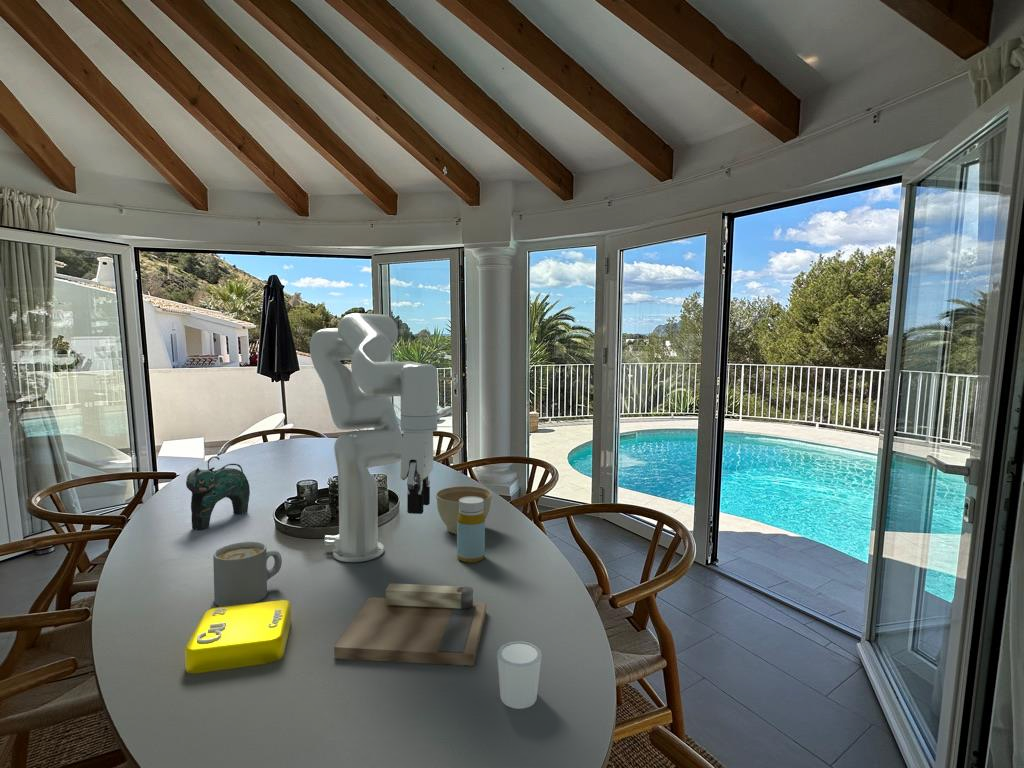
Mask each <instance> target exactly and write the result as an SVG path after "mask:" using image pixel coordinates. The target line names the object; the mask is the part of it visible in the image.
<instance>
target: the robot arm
mask: <svg viewBox="0 0 1024 768" xmlns="http://www.w3.org/2000/svg"><path fill="white" fill-rule="evenodd" d="M397 339H398V326H397V323H396V322H395V320H394V319H393V318H392V317H391V316H389V315H386V314H380V313H379V314H378V313H363V312H361V313H358V312H357V313H355V312H354V313H350V314H346V315H345V316H343V317H342V318H341V319H340V320H339V322H338V324H337V327H331V328H322V329H319V330H317V331H315V332H314V333H313V334H312V336H311V337H310V343H309V352H310V353H309V354H310V358H311V363H312V366H313V367H314V369H315V372H316V373H317V375H318V377H319V378H320V381H321V382H322V384H323V387H324V391H325V395H326V398H327V403H328V407H329V411H330V415H331V419H332V421H333V424H334V425H335V426H336V428H337V429H339V430H345V431H346V430H347V431H348V430H349V431H348V432H345V433H342V434H341V435H339V436H338V437H337V438H336V440H335V442H334V446H333V450H334V456H335V457H334V459H335V463H336V469H337V478H338V479H337V480H338V534H337V535H332V534H330V535H329V534H325V535H324V539H323V542H324V546H333V547H334V548H333V550H332V557H333V558H334V559H336V560H337V561H339V562H343V563H362V562H369V561H371V560H374V559H376V558H379V557H381V556H382V554H384V552H385V545H384V544H383V543H381V542H380V541H378V540H379V538H378V535H379V533H378V525H379V523H378V522H379V520H378V518H379V517H378V515H379V514H378V509H379V508H378V507H379V506H378V505H379V504H378V503H379V502H378V501H379V500H378V499H379V498H378V497H379V496H378V495H379V494H378V483H377V480H376V478H375V477H374V476H373V474H371V472H370V471H369V469H371V468H374V467H380V466H381V467H382V466H387V465H392V464H396V463H398V462H400V479H401V481H405V480H407V481H406V485H407V490H406V491H407V495H406V496H407V501H406V502H407V503H406V504H407V510H406V511H407V514H410V515H411V514H412V515H413V514H414V515H422V514H423V513H424V506H429V505H430V500H431V492H430V491H431V487H430V484H431V482H430V474H431V473H432V472H433V470H434V469H433V468H434V433H433V432H436V431H438V377H439V376H438V374H439V373H438V368H437V367H436V366H435V365H434V364H430V363H421V362H416V361H387V360H388V359H389V358H390V357H391V353H392V349H393V348H392V347H393V346H394V344H395V343H396V342H397ZM341 361H351V362H350V368H351V369H350V368H348V367H347V366H346V365H344V364H343V363H342V362H341ZM390 397H400V424H399V420H398V418H397V414H396V411H395V407H394V404H393V402H392V400H391V399H390ZM350 430H351V431H350ZM402 433H403V434H402Z"/></svg>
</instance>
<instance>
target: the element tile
mask: <svg viewBox="0 0 1024 768" xmlns="http://www.w3.org/2000/svg"><path fill="white" fill-rule="evenodd" d="M291 625H292V605H291V602H290V601H289V600H286V599H283V600H282V599H281V600H274V601H272V600H271V601H264V602H255V603H253V604H244V605H235V606H227V607H220V606H218V607H213V608H210V609H207V611H205V612H204V613H203V614H202V616H201V617H200V620H199V622H198V623H197V625H196V626H195V629H194V630H193V632H192V634H191V636H190V638H189V639H188V641H187V643H186V645H185V648H184V658H185V659H184V662H185V663H184V665H185V672H186V673H188V674H193V675H194V674H201V673H210V672H215V671H222V670H230V669H235V668H244V667H252V666H257V665H258V666H259V665H264V664H265V665H266V664H270V663H274V662H277V661H279V660H280V659H282V658H283V657H284V655H285V650H286V647H287V643H288V642H287V641H288V638H289V634H290V630H291Z"/></svg>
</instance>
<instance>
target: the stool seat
mask: <svg viewBox="0 0 1024 768" xmlns="http://www.w3.org/2000/svg"><path fill="white" fill-rule="evenodd" d="M486 613H487V602H474V601H473V606H472V607H471V608H468V609H461V608H441V607H420V606H399V605H386V597H368V599H367V600H366V601H365V603H364V604H363V605H362V607H361V609H360V610H359V612H358V613H357V614H356V615H355V617H354V618H353V619H352V621H351V622H350V623H349V625H348V626H347V628H346V629H345V631H344V633H343V634H342V635H341V637H339V640H338V641H337V642H336V644H335V645H334V647H333V657H334V659H338V660H339V659H340V660H356V661H359V660H360V661H376V662H392V663H393V662H394V663H396V662H397V663H411V664H413V663H414V664H415V663H416V664H429V663H430V664H431V665H445V664H451V665H450V666H464V665H468V667H474V665H475V662H476V661H475V660H476V657H477V652H478V648H479V645H480V640H481V635H482V632H483V631H482V630H483V626H484V622H485V617H486ZM474 661H475V662H474Z"/></svg>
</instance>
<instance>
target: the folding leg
mask: <svg viewBox="0 0 1024 768" xmlns="http://www.w3.org/2000/svg"><path fill="white" fill-rule="evenodd" d="M385 598H386V605H399V606H420V607H441V608H461V609H468V608H471V607H472V606H473V602H474V589H473V587H471V586H457V585H456V586H455V585H436V584H435V585H432V584H414V583H413V584H412V583H411V584H410V583H392V582H391V583H389V584H388V586H387V587H386V589H385Z"/></svg>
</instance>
